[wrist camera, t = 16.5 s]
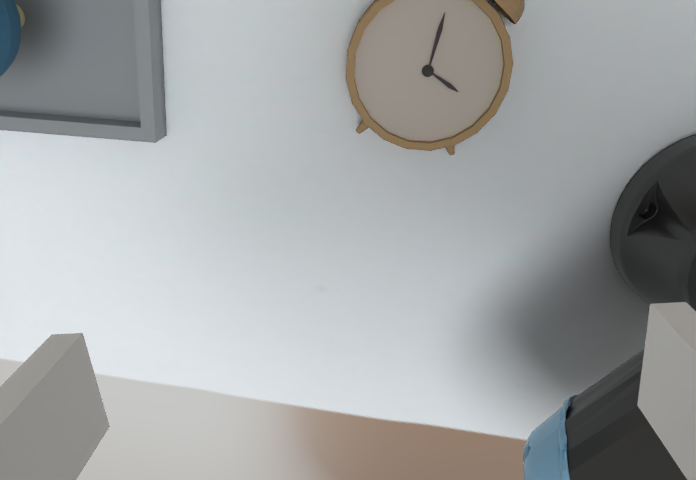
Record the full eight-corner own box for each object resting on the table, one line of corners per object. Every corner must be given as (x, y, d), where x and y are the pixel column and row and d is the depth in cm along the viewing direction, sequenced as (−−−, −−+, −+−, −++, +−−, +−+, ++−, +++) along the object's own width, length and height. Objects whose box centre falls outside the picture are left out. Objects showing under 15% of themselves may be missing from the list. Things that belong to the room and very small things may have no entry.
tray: (155, -104, 38) (142, -111, 36) (166, 135, 44) (155, 142, 42) (-146, -129, 38) (-179, -138, 36) (-94, 114, 44) (-119, 120, 42)
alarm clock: (329, 134, 41) (381, -104, 33) (334, 110, 45) (382, -106, 37) (479, 170, 42) (566, -55, 34) (471, 143, 46) (547, -62, 38)
